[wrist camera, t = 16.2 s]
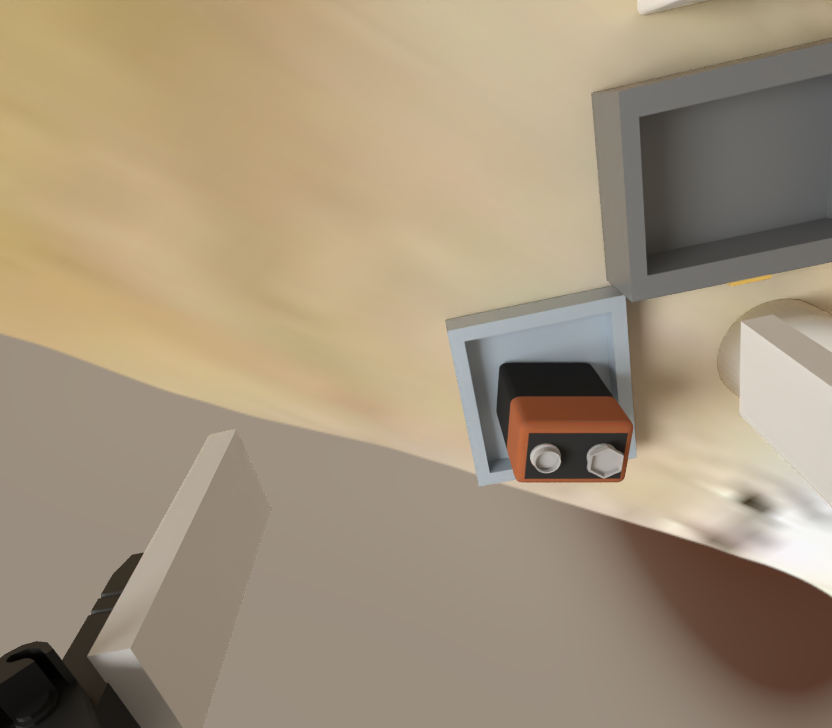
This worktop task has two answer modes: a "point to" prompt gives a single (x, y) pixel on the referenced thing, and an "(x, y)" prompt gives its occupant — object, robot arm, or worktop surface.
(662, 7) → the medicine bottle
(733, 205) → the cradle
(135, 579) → the robot arm
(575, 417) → the battery
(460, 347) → the tray
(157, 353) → the worktop surface
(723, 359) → the white rounded cylinder
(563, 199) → the worktop surface
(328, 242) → the worktop surface
